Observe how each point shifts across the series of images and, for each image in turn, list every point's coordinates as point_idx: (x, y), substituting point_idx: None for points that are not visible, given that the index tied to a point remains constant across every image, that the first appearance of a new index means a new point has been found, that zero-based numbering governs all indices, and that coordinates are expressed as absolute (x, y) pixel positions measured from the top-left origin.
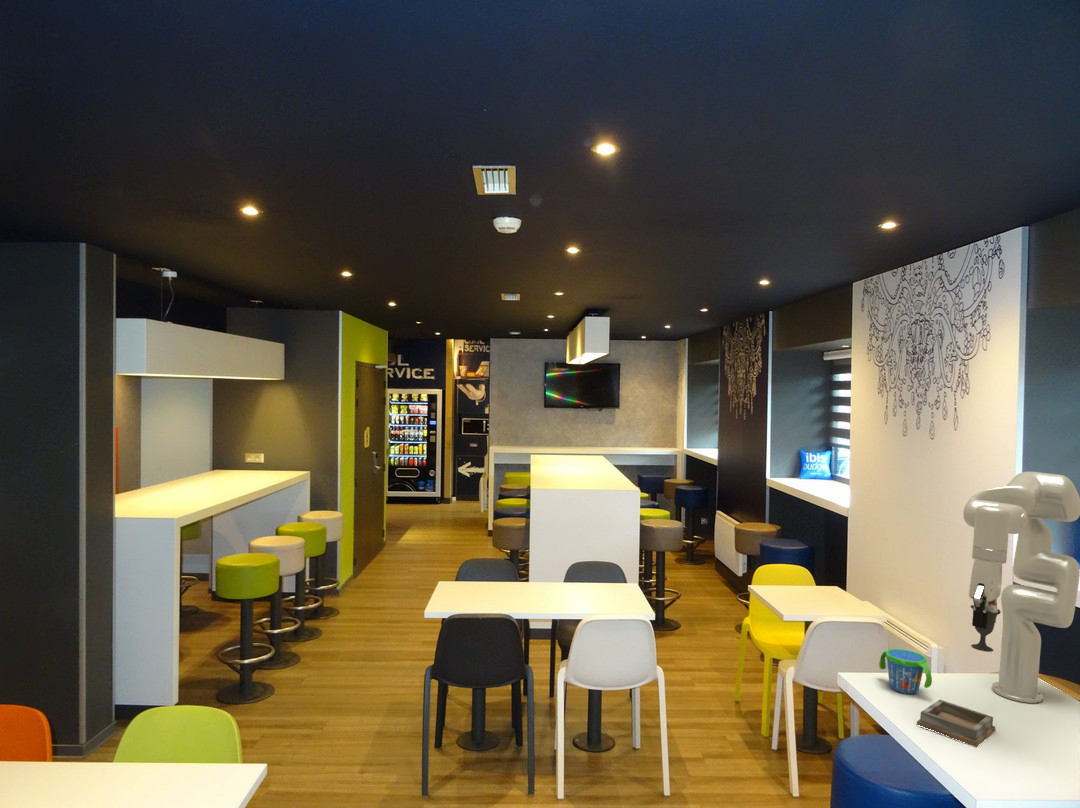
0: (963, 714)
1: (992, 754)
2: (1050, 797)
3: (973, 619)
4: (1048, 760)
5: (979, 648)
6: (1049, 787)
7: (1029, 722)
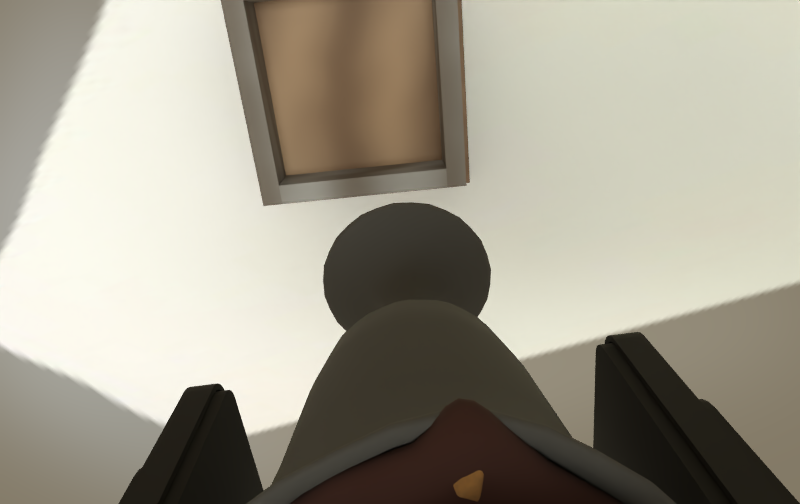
0: (438, 77)
1: (269, 247)
2: (168, 419)
3: (157, 457)
4: None
5: (340, 292)
6: None
7: (663, 211)
